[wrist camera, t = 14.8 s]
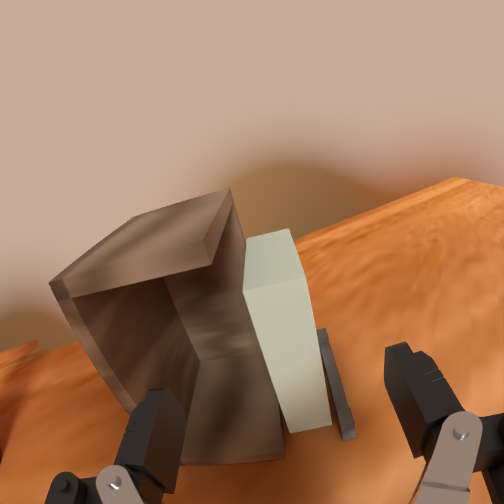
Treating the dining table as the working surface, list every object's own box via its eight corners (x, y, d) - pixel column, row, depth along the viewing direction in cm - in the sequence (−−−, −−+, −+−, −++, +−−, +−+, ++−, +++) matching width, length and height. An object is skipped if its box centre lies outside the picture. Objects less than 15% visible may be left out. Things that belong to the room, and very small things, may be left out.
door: (289, 433, 21) (242, 291, 17) (282, 364, 30) (246, 238, 25) (332, 424, 21) (305, 276, 16) (316, 356, 29) (288, 228, 25)
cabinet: (172, 465, 20) (48, 282, 14) (196, 363, 33) (133, 216, 27) (356, 442, 19) (331, 208, 12) (326, 338, 32) (292, 172, 25)
